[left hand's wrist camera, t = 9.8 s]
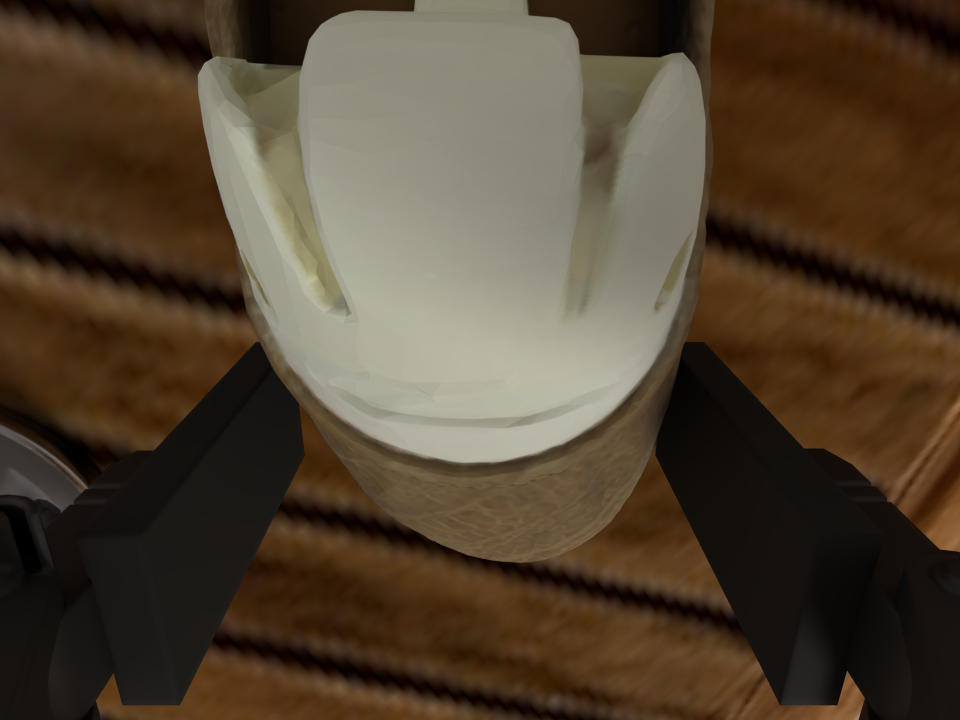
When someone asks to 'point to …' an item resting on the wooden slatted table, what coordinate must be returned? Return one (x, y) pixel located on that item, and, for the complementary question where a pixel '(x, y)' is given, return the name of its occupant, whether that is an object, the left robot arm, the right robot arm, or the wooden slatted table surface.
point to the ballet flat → (470, 241)
